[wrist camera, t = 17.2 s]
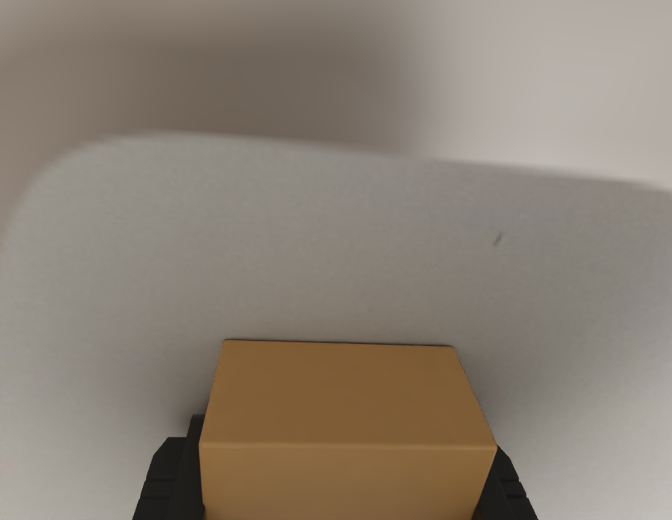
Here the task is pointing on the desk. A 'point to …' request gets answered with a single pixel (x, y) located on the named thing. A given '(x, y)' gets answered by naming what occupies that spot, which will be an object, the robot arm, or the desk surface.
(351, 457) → the tan square block
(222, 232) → the desk surface
